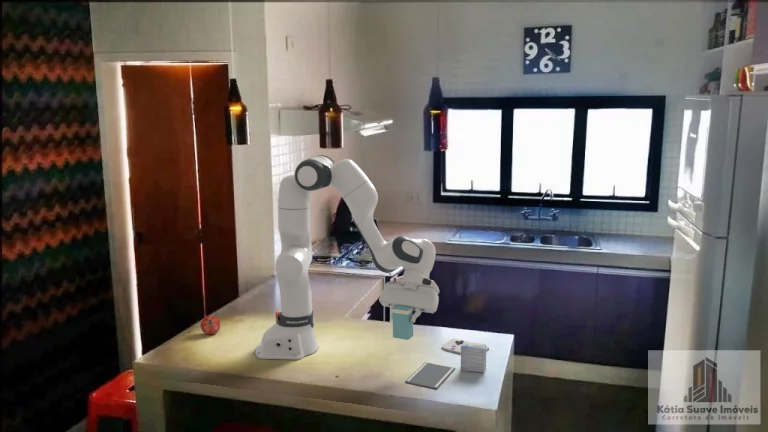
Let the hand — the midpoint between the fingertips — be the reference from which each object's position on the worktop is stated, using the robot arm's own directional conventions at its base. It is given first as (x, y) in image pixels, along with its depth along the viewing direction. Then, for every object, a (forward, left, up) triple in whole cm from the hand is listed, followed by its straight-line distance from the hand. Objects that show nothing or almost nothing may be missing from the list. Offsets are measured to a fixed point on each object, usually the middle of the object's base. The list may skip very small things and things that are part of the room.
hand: (402, 320), depth 200 cm
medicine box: (+24, -2, -18) cm, 30 cm away
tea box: (0, +1, -6) cm, 6 cm away
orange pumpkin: (-70, +44, -18) cm, 85 cm away
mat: (+9, -5, -18) cm, 20 cm away
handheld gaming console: (+25, +15, -18) cm, 34 cm away
